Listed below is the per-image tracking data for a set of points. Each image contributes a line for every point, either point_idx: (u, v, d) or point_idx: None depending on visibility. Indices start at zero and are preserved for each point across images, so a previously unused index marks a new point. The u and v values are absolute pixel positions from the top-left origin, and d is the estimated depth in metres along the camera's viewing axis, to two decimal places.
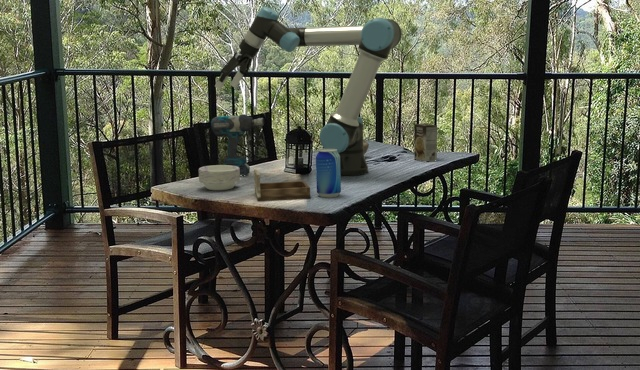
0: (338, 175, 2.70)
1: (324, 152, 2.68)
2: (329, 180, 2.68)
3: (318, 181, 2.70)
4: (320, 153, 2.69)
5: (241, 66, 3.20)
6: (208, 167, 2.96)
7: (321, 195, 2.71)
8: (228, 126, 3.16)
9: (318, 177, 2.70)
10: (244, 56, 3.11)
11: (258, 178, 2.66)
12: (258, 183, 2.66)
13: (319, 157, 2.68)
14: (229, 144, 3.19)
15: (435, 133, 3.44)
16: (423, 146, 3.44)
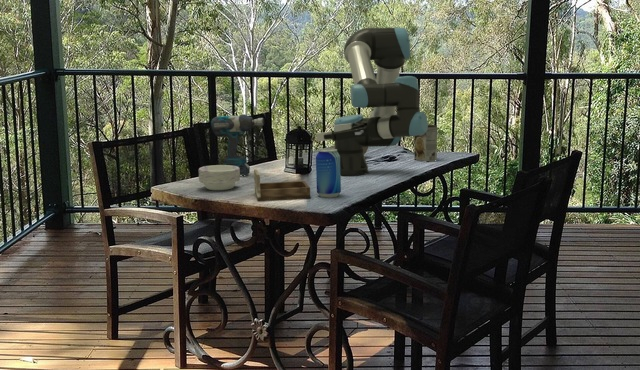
0: (338, 175, 2.70)
1: (324, 152, 2.68)
2: (329, 180, 2.68)
3: (318, 181, 2.70)
4: (320, 153, 2.69)
5: (356, 126, 2.71)
6: (208, 167, 2.96)
7: (321, 195, 2.71)
8: (228, 126, 3.16)
9: (318, 177, 2.70)
10: (364, 133, 2.62)
11: (258, 178, 2.66)
12: (258, 183, 2.66)
13: (319, 157, 2.68)
14: (229, 144, 3.19)
15: (435, 133, 3.44)
16: (423, 146, 3.44)
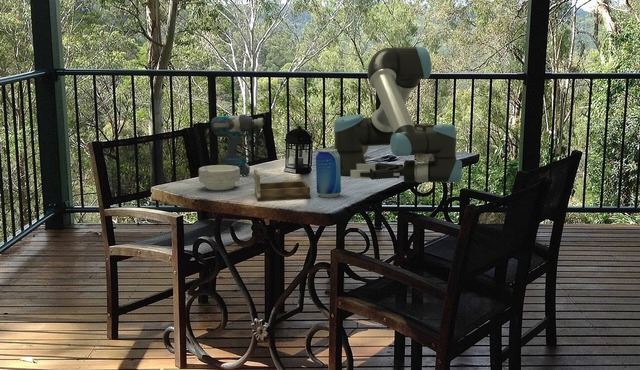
0: (338, 175, 2.70)
1: (324, 152, 2.68)
2: (329, 180, 2.68)
3: (318, 181, 2.70)
4: (320, 153, 2.69)
5: (383, 167, 2.73)
6: (208, 167, 2.96)
7: (321, 195, 2.71)
8: (228, 126, 3.16)
9: (318, 177, 2.70)
10: None
11: (258, 178, 2.66)
12: (258, 183, 2.66)
13: (319, 157, 2.68)
14: (229, 144, 3.19)
15: None
16: None
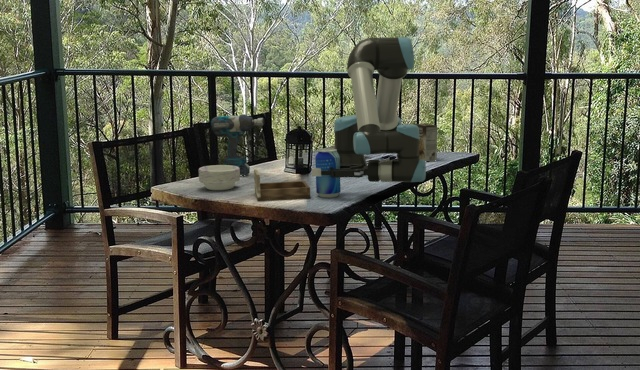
0: None
1: (324, 152, 2.67)
2: (329, 180, 2.68)
3: (318, 181, 2.70)
4: (320, 153, 2.68)
5: (345, 167, 2.74)
6: (208, 167, 2.96)
7: (321, 195, 2.70)
8: (228, 126, 3.16)
9: (318, 177, 2.70)
10: None
11: (258, 178, 2.66)
12: (258, 183, 2.66)
13: (319, 157, 2.68)
14: (229, 144, 3.19)
15: (435, 133, 3.44)
16: (423, 146, 3.44)
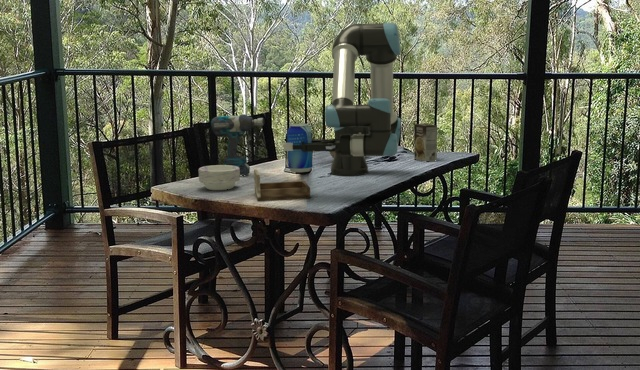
0: None
1: (295, 126, 2.66)
2: (301, 154, 2.67)
3: (290, 156, 2.69)
4: (291, 128, 2.67)
5: (317, 142, 2.73)
6: (208, 167, 2.96)
7: (293, 170, 2.69)
8: (228, 126, 3.16)
9: (290, 152, 2.69)
10: None
11: (258, 178, 2.66)
12: (258, 183, 2.66)
13: (290, 132, 2.67)
14: (229, 144, 3.19)
15: (435, 133, 3.44)
16: (423, 146, 3.44)
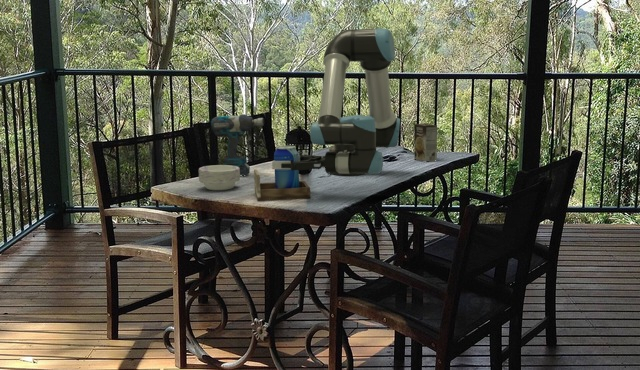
0: (296, 172, 2.71)
1: (282, 149, 2.69)
2: (288, 177, 2.69)
3: (276, 178, 2.71)
4: (278, 150, 2.69)
5: (307, 158, 2.77)
6: (208, 167, 2.96)
7: None
8: (228, 126, 3.16)
9: (276, 174, 2.71)
10: None
11: (258, 178, 2.66)
12: (258, 183, 2.66)
13: (277, 154, 2.69)
14: (229, 144, 3.19)
15: (435, 133, 3.44)
16: (423, 146, 3.44)
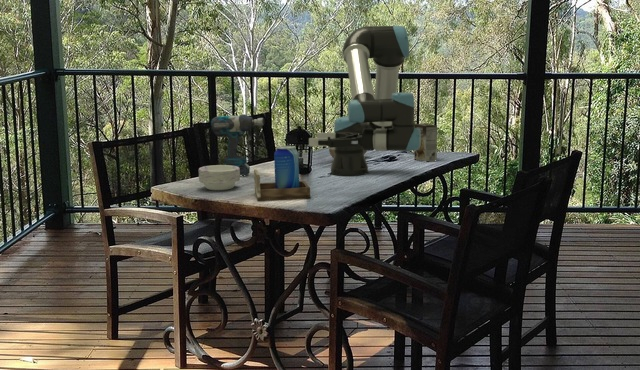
0: (296, 172, 2.71)
1: (282, 149, 2.69)
2: (288, 177, 2.69)
3: (276, 178, 2.71)
4: (278, 150, 2.70)
5: (343, 136, 2.73)
6: (208, 167, 2.96)
7: None
8: (228, 126, 3.16)
9: (276, 174, 2.71)
10: None
11: (258, 178, 2.66)
12: (258, 183, 2.66)
13: (277, 154, 2.69)
14: (229, 144, 3.19)
15: (435, 133, 3.44)
16: (423, 146, 3.44)
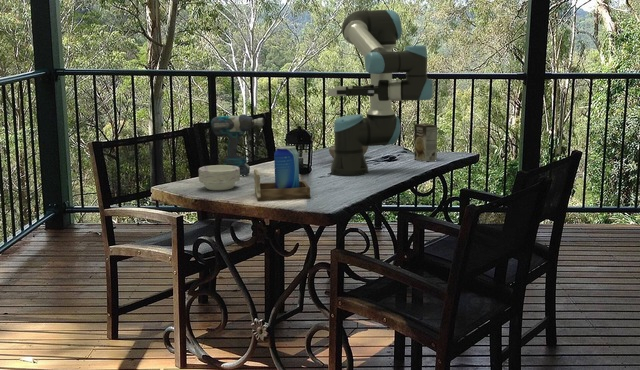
0: (296, 172, 2.71)
1: (282, 149, 2.69)
2: (288, 177, 2.69)
3: (276, 178, 2.71)
4: (278, 150, 2.70)
5: (359, 88, 2.89)
6: (208, 167, 2.96)
7: None
8: (228, 126, 3.16)
9: (276, 174, 2.71)
10: None
11: (258, 178, 2.66)
12: (258, 183, 2.66)
13: (277, 154, 2.69)
14: (229, 144, 3.19)
15: (435, 133, 3.44)
16: (423, 146, 3.44)
